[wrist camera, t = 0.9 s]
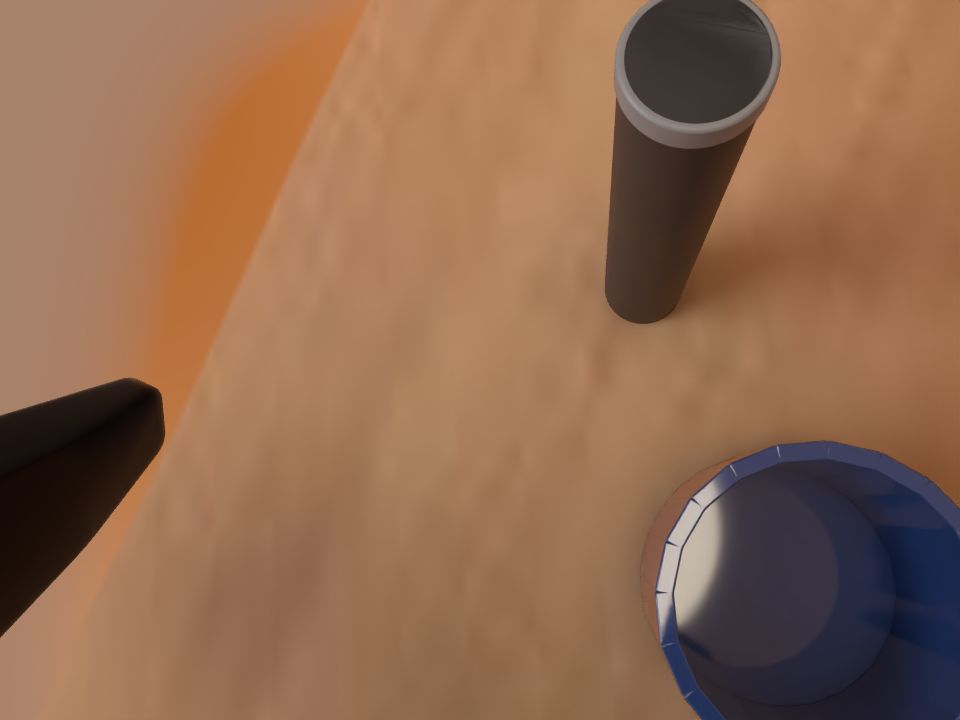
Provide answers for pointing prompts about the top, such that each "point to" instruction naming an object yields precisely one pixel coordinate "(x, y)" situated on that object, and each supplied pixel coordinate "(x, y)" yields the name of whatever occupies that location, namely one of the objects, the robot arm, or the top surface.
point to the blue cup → (808, 588)
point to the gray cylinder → (679, 139)
